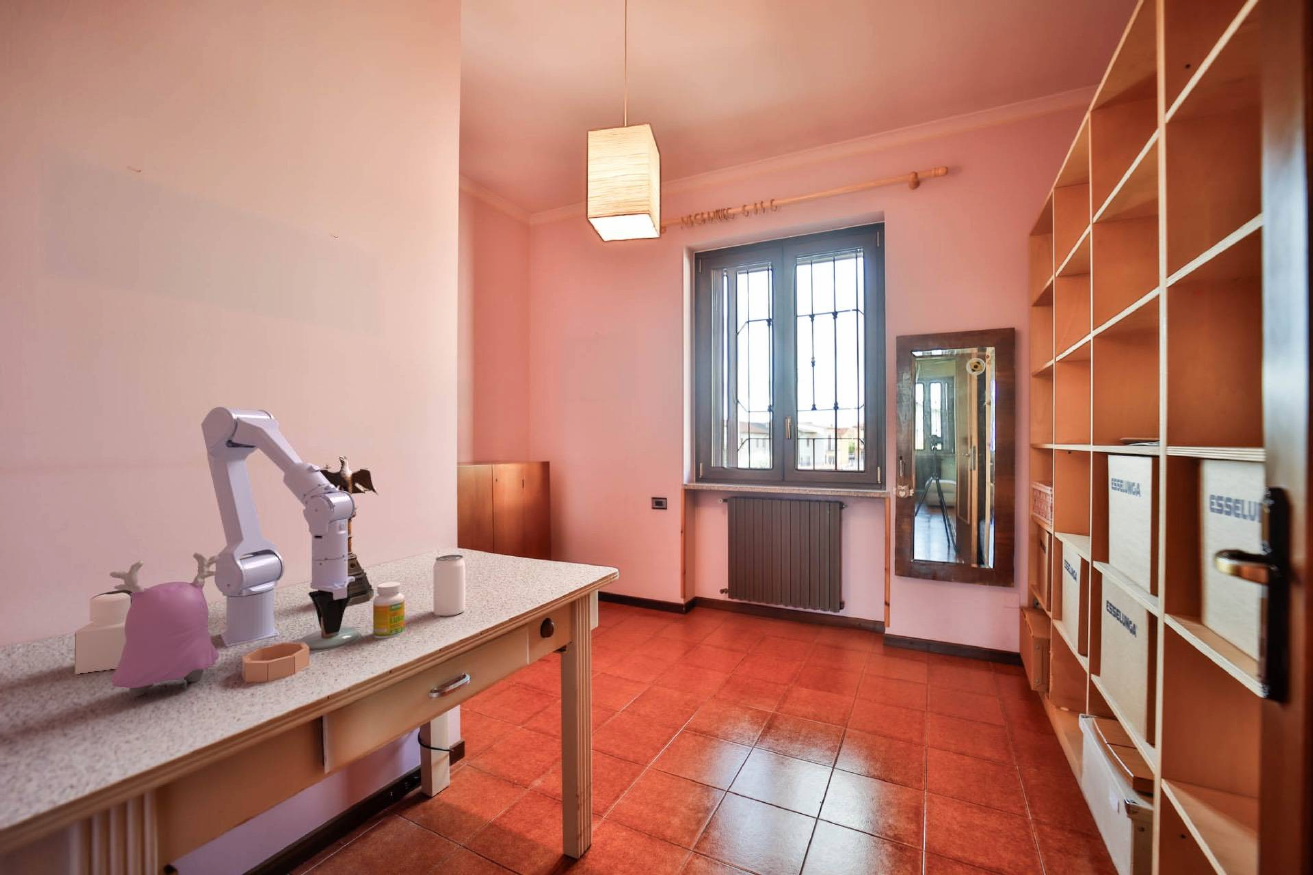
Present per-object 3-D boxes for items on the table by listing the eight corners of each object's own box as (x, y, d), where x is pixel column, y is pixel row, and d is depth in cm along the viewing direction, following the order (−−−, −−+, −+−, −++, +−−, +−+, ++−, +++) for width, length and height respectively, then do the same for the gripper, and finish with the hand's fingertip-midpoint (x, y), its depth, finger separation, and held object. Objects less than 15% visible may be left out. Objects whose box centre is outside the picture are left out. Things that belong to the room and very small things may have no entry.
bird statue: (323, 591, 132) (323, 453, 132) (380, 586, 136) (380, 452, 136) (300, 610, 116) (300, 454, 117) (366, 604, 120) (366, 453, 121)
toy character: (217, 666, 87) (217, 545, 87) (221, 686, 79) (222, 554, 80) (112, 689, 78) (113, 556, 79) (106, 715, 71) (107, 568, 71)
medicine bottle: (99, 659, 90) (100, 589, 90) (153, 652, 93) (153, 584, 93) (73, 675, 84) (74, 600, 84) (132, 667, 86) (132, 595, 87)
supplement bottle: (391, 640, 97) (391, 588, 97) (366, 639, 98) (366, 587, 98) (410, 630, 103) (410, 581, 103) (386, 629, 104) (386, 580, 104)
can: (471, 610, 115) (471, 556, 115) (445, 618, 109) (445, 561, 110) (453, 606, 118) (452, 553, 119) (427, 613, 113) (427, 558, 113)
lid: (295, 640, 97) (295, 616, 97) (350, 627, 103) (350, 605, 103) (306, 653, 90) (306, 628, 90) (364, 639, 97) (364, 615, 97)
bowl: (239, 672, 84) (239, 652, 84) (301, 656, 90) (301, 638, 90) (247, 688, 78) (247, 667, 78) (313, 671, 84) (312, 651, 84)
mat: (292, 642, 97) (292, 640, 97) (352, 628, 104) (352, 626, 104) (304, 657, 90) (304, 655, 90) (367, 641, 97) (367, 639, 97)
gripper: (365, 559, 95) (365, 634, 95) (343, 548, 105) (343, 616, 105) (320, 565, 90) (320, 644, 90) (301, 554, 100) (301, 625, 100)
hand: (329, 630), depth 97 cm, fingers closed on lid, 3 cm apart
